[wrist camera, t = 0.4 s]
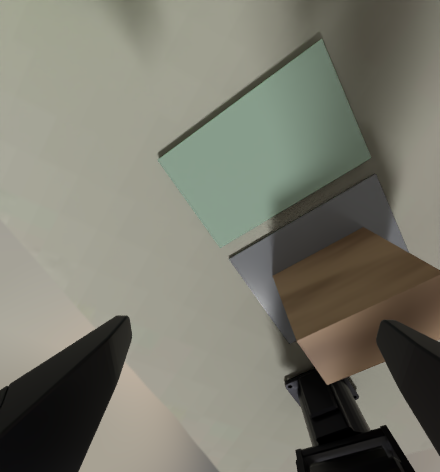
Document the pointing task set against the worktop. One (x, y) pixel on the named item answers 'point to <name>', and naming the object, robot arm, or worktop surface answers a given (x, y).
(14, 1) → the worktop surface
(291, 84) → the green mat
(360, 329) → the walnut block
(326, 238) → the plate
